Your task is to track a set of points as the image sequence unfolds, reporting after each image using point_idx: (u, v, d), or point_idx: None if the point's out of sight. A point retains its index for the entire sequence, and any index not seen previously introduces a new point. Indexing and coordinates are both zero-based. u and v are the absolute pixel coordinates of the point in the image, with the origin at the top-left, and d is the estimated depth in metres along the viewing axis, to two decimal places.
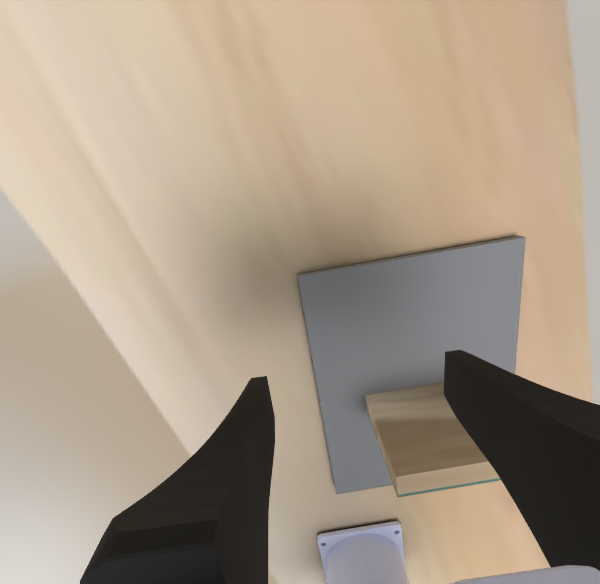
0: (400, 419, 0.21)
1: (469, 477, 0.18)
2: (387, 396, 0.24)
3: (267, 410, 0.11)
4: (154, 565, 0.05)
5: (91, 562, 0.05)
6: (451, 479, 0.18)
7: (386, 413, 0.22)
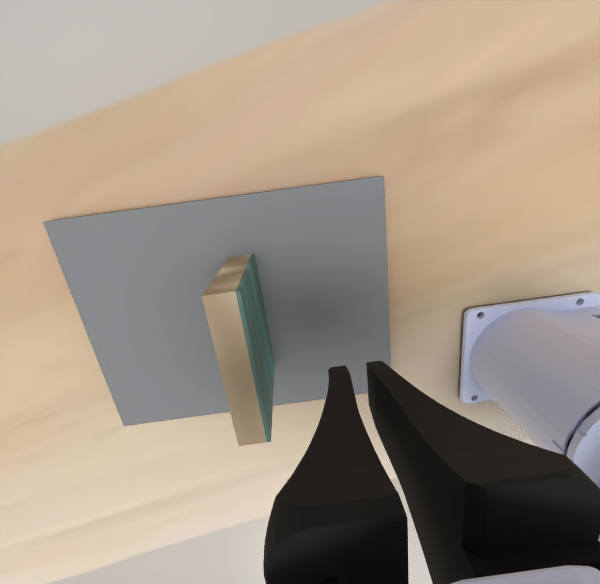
0: None
1: (242, 373, 0.14)
2: None
3: None
4: (345, 539, 0.05)
5: (278, 536, 0.05)
6: (245, 391, 0.15)
7: None
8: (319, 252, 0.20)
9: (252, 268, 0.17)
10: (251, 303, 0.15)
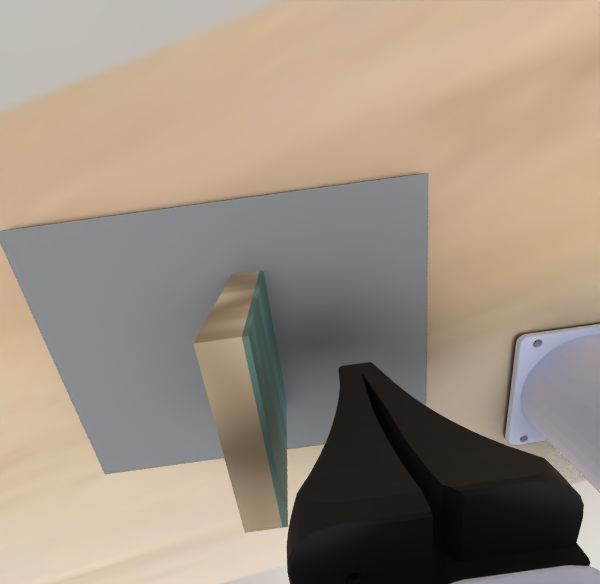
0: None
1: (251, 443, 0.10)
2: None
3: None
4: (369, 535, 0.05)
5: (302, 533, 0.05)
6: (255, 466, 0.11)
7: None
8: (344, 269, 0.16)
9: (261, 292, 0.14)
10: (261, 343, 0.12)
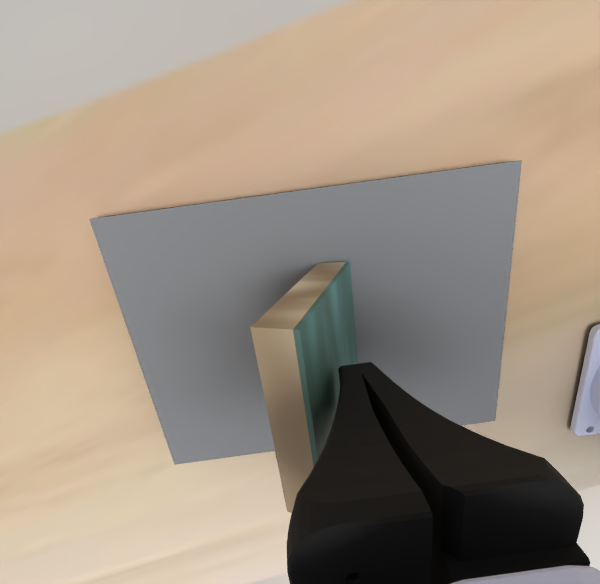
0: None
1: (296, 433, 0.11)
2: None
3: None
4: (370, 535, 0.05)
5: (302, 533, 0.05)
6: (299, 455, 0.11)
7: None
8: (429, 257, 0.16)
9: (339, 285, 0.13)
10: (325, 337, 0.11)
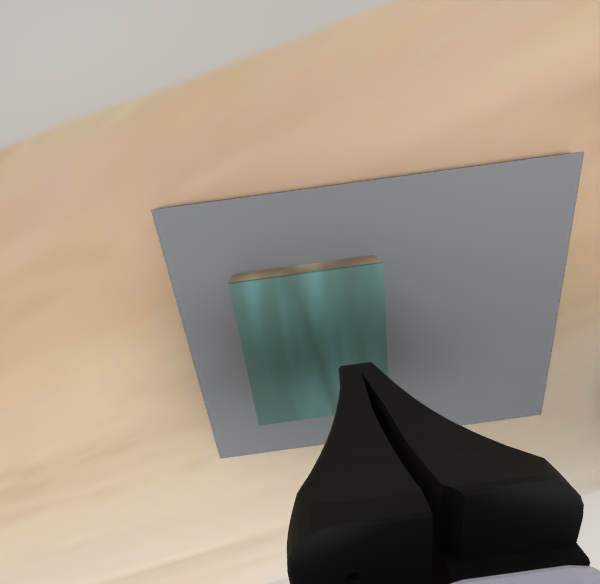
0: None
1: None
2: None
3: None
4: (369, 535, 0.05)
5: (302, 533, 0.05)
6: None
7: None
8: (486, 249, 0.16)
9: (333, 277, 0.14)
10: (281, 306, 0.15)
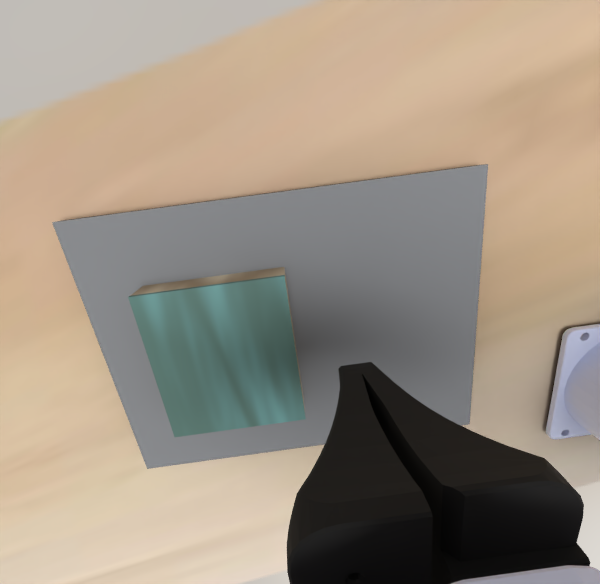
0: None
1: None
2: None
3: None
4: (370, 535, 0.05)
5: (302, 533, 0.05)
6: None
7: None
8: (398, 261, 0.16)
9: (234, 290, 0.14)
10: (184, 319, 0.15)
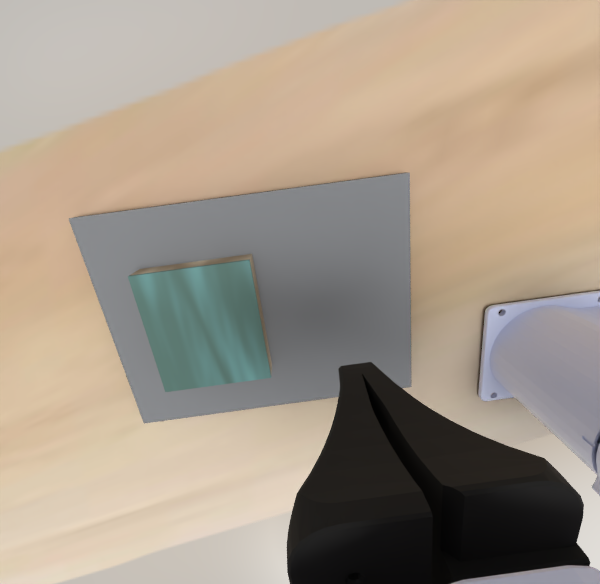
0: None
1: None
2: None
3: None
4: (370, 535, 0.05)
5: (302, 533, 0.05)
6: None
7: None
8: (343, 249, 0.20)
9: (210, 271, 0.18)
10: (172, 294, 0.19)
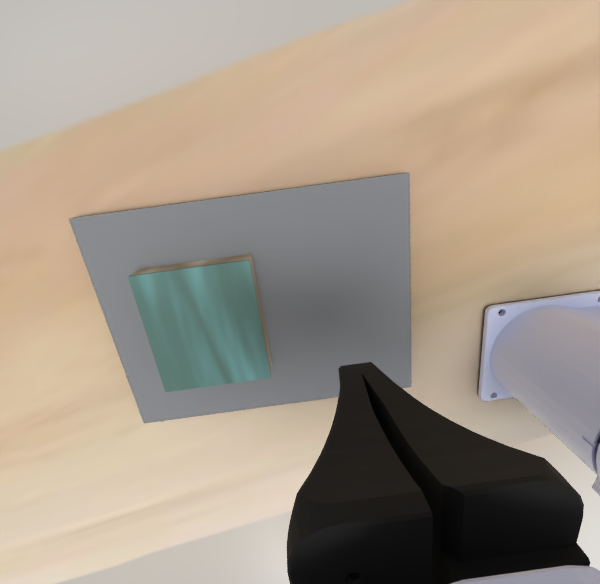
0: None
1: None
2: None
3: None
4: (370, 535, 0.05)
5: (302, 533, 0.05)
6: None
7: None
8: (343, 249, 0.20)
9: (210, 271, 0.18)
10: (172, 294, 0.19)
